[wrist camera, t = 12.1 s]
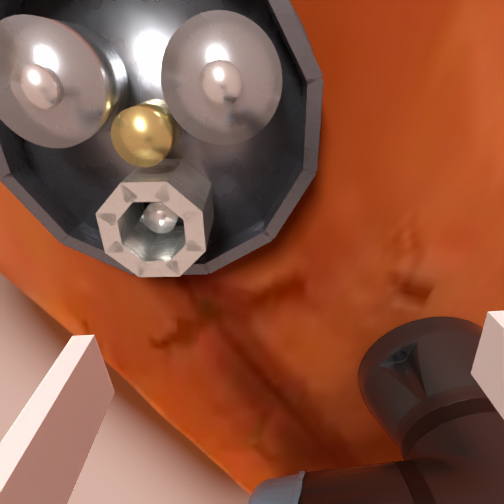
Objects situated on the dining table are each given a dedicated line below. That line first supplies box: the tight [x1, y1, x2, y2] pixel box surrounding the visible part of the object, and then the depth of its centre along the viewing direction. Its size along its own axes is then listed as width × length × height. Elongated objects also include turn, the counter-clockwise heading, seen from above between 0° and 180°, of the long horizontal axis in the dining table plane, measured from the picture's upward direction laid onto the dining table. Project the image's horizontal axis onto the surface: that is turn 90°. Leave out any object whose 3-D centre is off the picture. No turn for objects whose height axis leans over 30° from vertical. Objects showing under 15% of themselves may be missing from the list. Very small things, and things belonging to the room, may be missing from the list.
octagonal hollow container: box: [96, 158, 214, 277], centre depth 27 cm, size 7×7×6 cm
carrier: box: [0, 0, 323, 276], centre depth 24 cm, size 24×24×8 cm
